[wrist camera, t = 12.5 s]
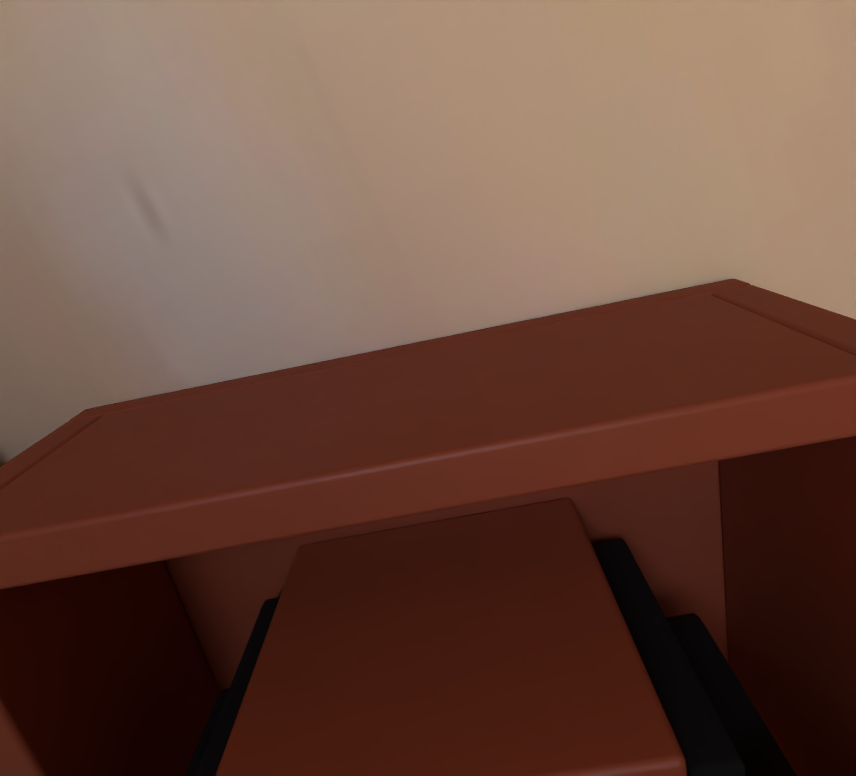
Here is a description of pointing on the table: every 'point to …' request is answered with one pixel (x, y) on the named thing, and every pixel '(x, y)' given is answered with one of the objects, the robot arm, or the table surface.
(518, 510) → the terracotta block
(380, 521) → the terracotta bin
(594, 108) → the table surface
